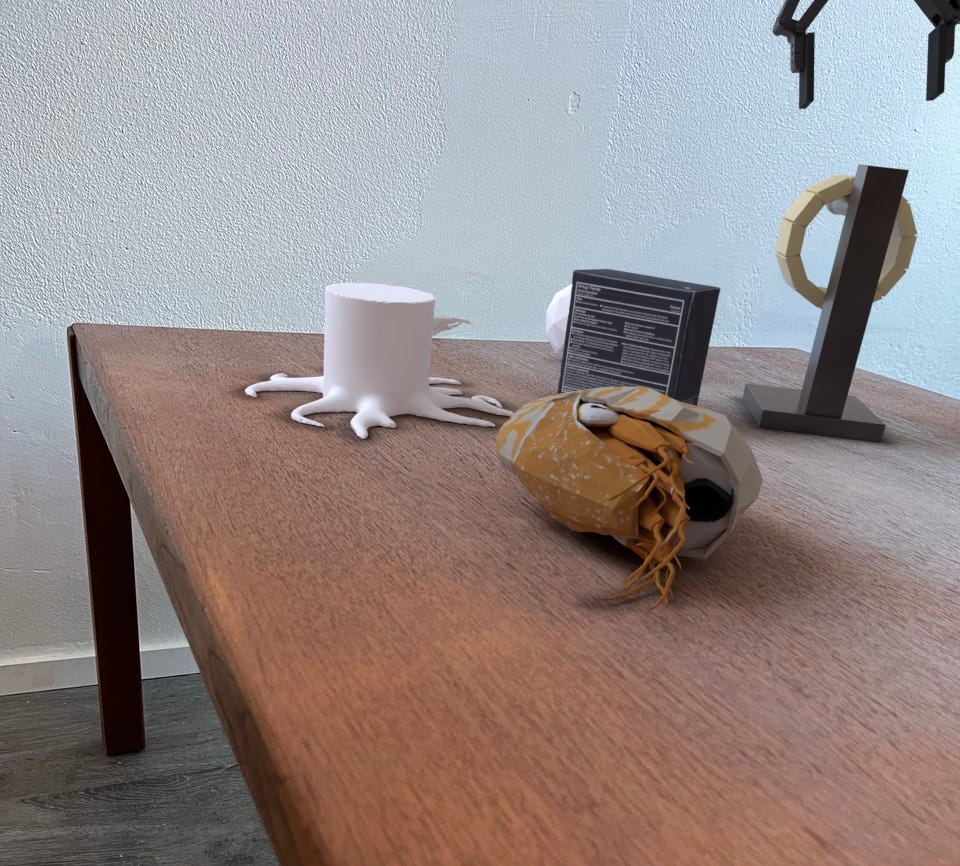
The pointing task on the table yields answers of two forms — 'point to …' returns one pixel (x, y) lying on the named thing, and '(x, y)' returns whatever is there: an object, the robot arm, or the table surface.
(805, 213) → the tape roll
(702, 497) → the nautilus
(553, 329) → the geometric ball
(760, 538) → the table surface
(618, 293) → the small box
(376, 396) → the tree stump
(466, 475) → the table surface
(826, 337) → the tape stand
